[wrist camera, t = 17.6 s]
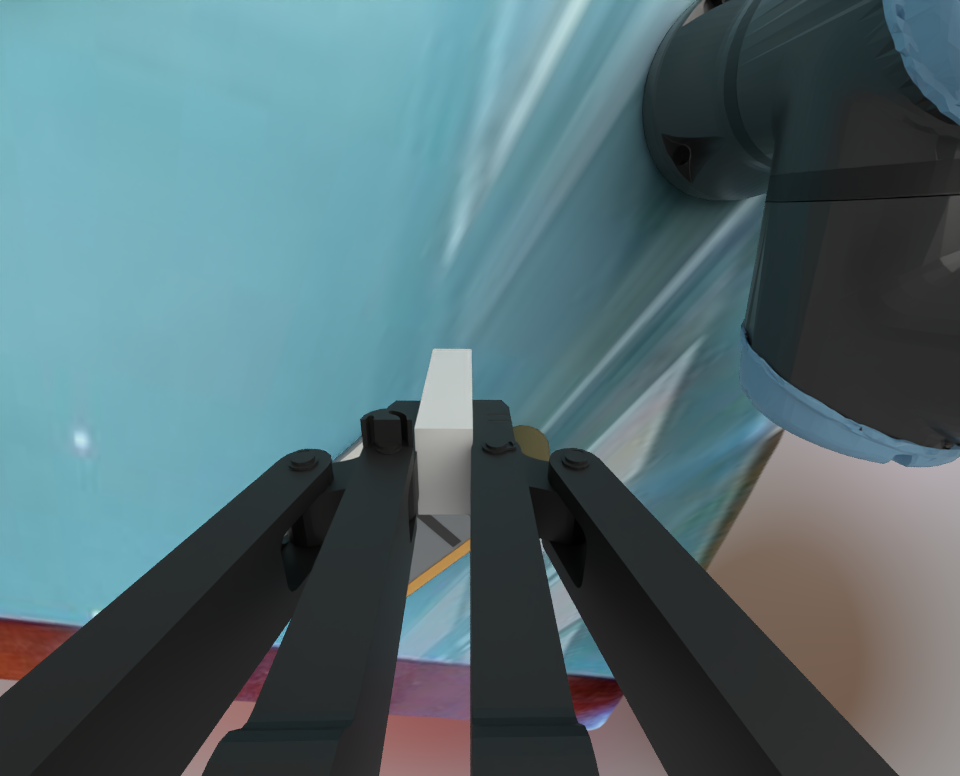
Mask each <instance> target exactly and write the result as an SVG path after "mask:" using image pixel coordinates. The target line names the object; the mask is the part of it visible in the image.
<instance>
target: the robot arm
mask: <svg viewBox="0 0 960 776" xmlns="http://www.w3.org/2000/svg"><path fill="white" fill-rule="evenodd" d="M643 125H644V132H645V138H646V141H647V145H648V148H649V151H650V153H651V156H652V158H653V160H654V162H655V164H656V166H657V167H658V169H659V170H660V171H661V173H662V174H663V175H664V177H665V178H666V179H667V180H668V181H669V182H670V183H671V184H673V185H674V186H675V187H676V188H678V189H679V190H681V191H683V192H685V193H686V194H689V195H691V196H693V197H697V198H700V199H705V200H716V201H720V200H740V199H746V198H750V197H754V196H757V195H761V194H763V193H766V192H767V196H766V201H765V204H764V211H763V217H762V223H761V229H760V235H759V242H758V248H757V254H756V260H755V265H754V271H753V277H752V282H751V288H750V293H749V299H748V304H747V310H746V316H745V319H744V321H743V323H742V325H741V329H740V336H741V341H742V351H741V360H740V369H739V378H740V384H741V387H742V389H743V391H744V393H745V394H746V395H747V397H748V398H749V399H750V400H751V401H752V404H753V405H754V407H755V408H756V409H757V410H758V411H760V412H761V413H762V414H763V415H764V416H766V417H767V418H768V419H769V420H771V421H772V422H774V423H775V424H777V425H778V426H780V427H782V428H783V429H785V430H787V431H789V432H790V433H792V434H794V435H796V436H798V437H800V438H802V439H805V440H807V441H809V442H812V443H814V444H816V445H819V446H821V447H824V448H826V449H829V450H832V451H835V452H838V453H841V454H844V455H847V456H851V457H854V458H858V459H863V460H867V461H872V462H877V463H882V464H884V463H887V462H889V461H890V460H893V461H895V462H897V463H899V464H901V465H904V466H906V467H933V466H939V465H942V464H946V463H949V462H952V461H954V460H956V459H957V458H958V457H960V0H697V1H696V2H694V3H693V4H692V5H691V6H690V7H689V8H688V9H687V10H686V11H685V12H684V13H683V14H682V15H681V16H680V17H679V18H678V19H677V21H676V22H675V23H674V24H673V26H672V27H671V29H670V30H669V31H668V33H667V34H666V36H665V38H664V39H663V41H662V43H661V45H660V46H659V48H658V50H657V53H656V55H655V57H654V60H653V62H652V65H651V68H650V71H649V74H648V78H647V81H646V86H645V92H644V99H643ZM360 421H361V431H362V441H363V449H362V451H361V454H360V456H359V457H356V458H354V459H350V460H346V461H340V462H334V463H332V460H331V455H330V454H328V453H327V452H326V451H323V450H319V449H304V450H303V449H302V450H298V451H296V452H293V453H290V454H288V455H286V456H285V457H283V458H281V459H280V460H279V461H278V462H276V463H275V464H274V465H273V466H272V467H270V468H269V469H268V470H267V471H266V472H265V473H263V474H262V475H261V476H260V477H259V478H257V479H256V480H255V481H254V482H253V483H252V484H250V485H249V486H248V487H247V488H246V489H245V490H243V491H242V492H241V493H240V494H239V495H237V496H236V497H235V498H234V499H233V500H232V501H230V502H229V503H228V504H227V505H226V506H225V507H223V508H222V509H221V510H220V511H219V512H217V513H216V514H215V515H214V516H213V517H212V518H210V519H209V520H208V521H207V522H206V523H204V524H203V525H202V526H201V527H200V528H199V529H197V530H196V531H195V532H194V533H193V534H192V535H190V536H189V537H188V538H187V539H186V540H184V541H183V542H182V543H181V544H180V545H179V546H177V547H176V548H175V549H174V550H173V551H172V552H170V553H169V554H168V555H167V556H166V557H164V558H163V559H162V560H161V561H160V562H159V563H157V564H156V565H155V566H154V567H153V568H151V569H150V570H149V571H148V572H147V573H146V574H144V575H143V576H142V577H141V578H140V579H139V580H137V581H136V582H135V583H134V584H133V585H131V586H130V587H129V588H128V589H127V590H126V591H124V592H123V593H122V594H121V595H120V596H119V597H117V598H116V599H115V600H114V601H113V602H111V603H110V604H109V605H108V606H107V607H106V608H104V609H103V610H102V611H101V612H100V613H98V614H97V615H96V616H95V617H94V618H93V619H91V620H90V621H89V622H88V623H87V624H86V625H84V626H83V627H82V628H81V629H80V630H78V631H77V632H76V633H75V634H74V635H73V636H71V637H70V638H69V639H68V640H67V641H66V642H64V643H63V644H62V645H61V646H60V647H58V648H57V649H56V650H55V651H54V652H53V653H51V654H50V655H49V656H48V657H47V658H45V659H44V660H43V661H42V662H41V663H40V664H38V665H37V666H36V667H35V668H34V669H33V670H31V671H30V672H29V673H28V674H27V675H25V676H24V677H23V678H22V679H21V680H20V681H18V682H17V683H16V684H15V685H14V686H13V687H11V688H10V689H9V690H8V691H7V692H5V693H4V694H3V695H2V696H1V697H0V776H181V774H182V773H183V772H184V770H185V769H186V767H187V766H188V764H189V763H190V762H191V760H192V759H193V757H194V756H195V755H196V753H197V752H198V750H199V749H200V747H201V746H202V745H203V743H204V742H205V740H206V739H207V737H208V736H209V735H210V733H211V732H212V730H213V729H214V727H215V726H216V725H217V723H218V722H219V720H220V719H221V718H222V716H223V715H224V713H225V712H226V710H227V709H228V708H229V706H230V705H231V703H232V702H233V700H234V699H235V698H236V696H237V695H238V693H239V692H240V691H241V689H242V688H243V686H244V685H245V683H246V682H247V681H248V679H249V678H250V676H251V675H252V673H253V672H254V671H255V669H256V668H257V666H258V665H259V663H260V662H261V661H262V659H263V658H264V656H265V655H266V654H267V652H268V651H269V649H270V648H271V646H272V645H273V644H274V642H275V641H276V639H277V638H278V636H279V635H280V634H281V632H282V631H283V629H284V628H285V626H286V625H287V624H288V622H289V621H290V619H291V621H290V623H289V625H288V628H287V630H286V633H285V635H284V637H283V640H282V642H281V645H280V647H279V649H278V652H277V654H276V656H275V659H274V661H273V664H272V666H271V668H270V671H269V673H268V676H267V678H266V680H265V683H264V685H263V687H262V690H261V692H260V695H259V697H258V699H257V702H256V704H255V707H254V709H253V711H252V713H251V715H250V717H249V719H248V721H247V723H246V724H245V725H244V726H243V727H242V728H241V729H237V730H233V731H229V732H228V733H227V734H226V735H225V737H223V738H222V740H221V741H220V742H219V743H218V745H217V747H216V748H215V750H214V752H213V754H212V756H211V758H210V759H209V761H208V763H207V766H206V767H205V770H204V772H203V774H202V776H379V772H380V765H381V759H382V751H383V746H384V739H385V733H386V726H387V720H388V713H389V707H390V700H391V694H392V687H393V681H394V674H395V668H396V661H397V655H398V648H399V642H400V635H401V629H402V622H403V616H404V609H405V603H406V596H407V590H408V583H409V576H410V570H411V563H412V557H413V550H414V544H415V537H416V531H417V514H416V511H417V505H418V515H471V516H470V725H471V726H470V728H471V729H470V730H471V731H470V739H471V744H470V747H471V748H470V752H471V753H470V757H471V758H470V760H471V763H470V766H471V770H470V772H471V775H470V776H599V772H598V768H597V763H596V759H595V754H594V751H593V747H592V743H591V740H590V737H589V734H588V732H587V730H586V727H585V726H584V725H582V724H580V723H578V721H577V718H576V716H575V712H574V708H573V703H572V698H571V693H570V688H569V683H568V678H567V673H566V668H565V663H564V658H563V653H562V649H561V644H560V639H559V634H558V629H557V624H556V619H555V614H554V609H553V604H552V599H551V594H550V589H549V584H548V579H547V575H546V570H545V565H544V560H543V555H542V550H541V545H540V540H539V538H541V539H542V544H543V548H544V549H545V551H546V553H547V555H548V557H549V559H550V560H551V562H552V564H553V566H554V568H555V570H556V571H557V573H558V575H559V577H560V579H561V581H562V582H563V584H564V586H565V588H566V590H567V591H568V593H569V595H570V597H571V599H572V601H573V602H574V604H575V606H576V608H577V610H578V612H579V613H580V615H581V617H582V619H583V621H584V623H585V624H586V626H587V628H588V630H589V632H590V634H591V635H592V637H593V639H594V641H595V643H596V644H597V646H598V648H599V650H600V652H601V654H602V655H603V657H604V659H605V661H606V663H607V665H608V666H609V668H610V670H611V672H612V674H613V676H614V677H615V679H616V681H617V683H618V685H619V687H620V688H621V690H622V692H623V694H624V696H625V697H626V699H627V701H628V703H629V705H630V707H631V708H632V710H633V712H634V714H635V716H636V717H637V719H638V721H639V723H640V725H641V727H642V728H643V730H644V732H645V734H646V736H647V738H648V739H649V741H650V743H651V745H652V747H653V748H654V750H655V752H656V754H657V756H658V758H659V760H660V761H661V763H662V765H663V767H664V769H665V771H666V772H667V774H668V776H899V775H898V774H897V773H896V772H895V771H894V770H893V769H892V768H891V767H890V766H889V765H888V764H887V763H886V762H885V761H884V759H883V758H882V757H881V756H880V755H879V754H878V753H877V752H876V751H875V750H874V749H873V748H872V747H871V746H870V745H869V744H868V743H867V742H866V740H865V739H864V738H863V737H862V736H861V735H860V734H859V733H858V732H857V731H856V730H855V729H854V728H853V727H852V726H851V725H850V724H849V722H848V721H847V720H846V719H845V718H844V717H843V716H842V715H841V714H840V713H839V712H838V711H837V710H836V709H835V708H834V707H833V706H832V705H831V703H830V702H829V701H828V700H827V699H826V698H825V697H824V696H823V695H822V694H821V693H820V692H819V691H818V690H817V689H816V688H815V686H814V685H813V684H812V683H811V682H810V681H809V680H808V679H807V678H806V677H805V676H804V675H803V674H802V673H801V672H800V671H799V670H798V668H797V667H796V666H795V665H794V664H793V663H792V662H791V661H790V660H789V659H788V658H787V657H786V656H785V655H784V654H783V653H782V652H781V650H780V649H779V648H778V647H777V646H776V645H775V644H774V643H773V642H772V641H771V640H770V639H769V638H768V637H767V636H766V635H765V634H764V632H762V630H761V629H760V628H759V627H758V626H757V625H756V624H755V623H754V622H753V621H752V620H751V619H750V618H749V617H748V616H747V614H746V613H745V612H744V611H743V610H742V609H741V608H740V607H739V606H738V605H737V604H736V603H735V602H734V601H733V600H732V599H731V598H730V597H729V596H728V594H727V593H726V592H725V591H724V590H723V589H722V588H721V587H720V586H719V585H718V584H717V583H716V582H715V581H714V580H713V579H712V577H710V576H709V574H708V573H707V572H706V571H705V570H704V569H703V568H702V567H701V566H700V565H699V564H698V563H697V562H696V561H695V559H694V558H693V557H692V556H691V555H690V554H689V553H688V552H687V551H686V550H685V549H684V548H683V547H682V546H681V545H680V544H679V543H678V541H677V540H676V539H675V538H674V537H673V536H672V535H671V534H670V533H669V532H668V531H667V530H666V529H665V528H664V527H663V526H662V525H661V523H660V522H659V521H658V520H657V519H656V518H655V517H654V516H653V515H652V514H651V513H650V512H649V511H648V510H647V509H646V508H645V507H644V506H643V504H642V503H641V502H640V501H639V500H638V499H637V498H636V497H635V496H634V495H633V494H632V493H631V492H630V491H629V490H628V489H627V488H626V486H625V485H624V484H623V483H622V482H621V481H620V480H619V479H618V478H617V477H616V476H615V475H614V474H613V473H612V472H611V471H610V470H609V468H608V467H607V466H606V465H605V464H604V463H603V462H602V461H601V460H600V459H599V458H598V457H596V456H595V455H594V454H592V453H590V452H587V451H585V450H582V449H577V448H567V449H561V450H557V451H555V452H554V453H552V454H551V456H550V458H549V461H544V460H539V459H535V458H532V457H529V456H527V455H525V454H524V453H522V451H521V447H520V445H519V444H518V442H516V441H515V437H514V432H513V427H512V422H511V416H510V411H509V407H508V406H507V405H506V404H505V403H504V402H503V401H502V400H472V350H471V349H433V352H432V356H431V360H430V365H429V369H428V373H427V377H426V382H425V386H424V390H423V394H422V398H421V401H395V402H394V403H393V404H391V405H390V406H389V407H388V408H387V409H380V410H376V411H372V412H370V413H368V414H366V415H364V416H363V417H362V418H361V419H360ZM286 533H287V534H286ZM285 534H286V535H285Z"/></svg>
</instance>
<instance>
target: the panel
mask: <svg viewBox="0 0 960 776" xmlns="http://www.w3.org/2000/svg"><path fill="white" fill-rule="evenodd" d="M362 449H363V441H362V436H361V437H360V438H359V439H358V440H357V441H356V442H355V443H353V444H352V445H351V446H350V447H349V448H348V449H346V450H345V451H344V452H343V453H342V454H341V455H339V456H338V457H337V458H336V459H335V460H334V461H333V462H332V463H334V462H340V461H346V460H350V459H354V458H356V457H359V456H360V454H361V451H362ZM416 514H417V531H416V537H415V544H414V550H413V557H412V563H411V570H410V576H409V583H408V590H407V596H406V598H407V597H408V596H410V595H411V594H412V593H414V592H415V591H416V590H418V589H419V588H420V587H422V586H423V585H425V584H426V583H427V582H429V581H430V580H431V579H433V578H434V577H436V576H437V575H438V574H440V573H441V572H442V571H444V570H445V569H446V568H448V567H449V566H451V565H452V564H453V563H455V562H456V561H457V560H459V559H460V558H462V557H463V556H464V555H466V554H467V553H468V552H470V516H471V515H418V505H417V511H416ZM286 534H287V533H286ZM286 534H285V535H286Z"/></svg>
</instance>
